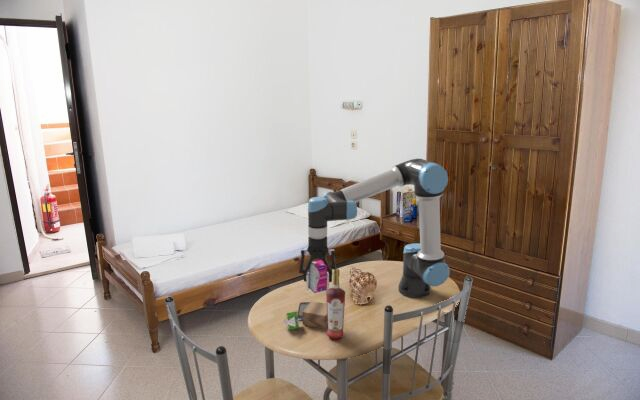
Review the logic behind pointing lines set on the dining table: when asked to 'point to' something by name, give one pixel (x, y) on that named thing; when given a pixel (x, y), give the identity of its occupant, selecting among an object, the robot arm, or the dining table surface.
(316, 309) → the walnut pedestal block
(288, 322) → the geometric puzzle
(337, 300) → the liquor
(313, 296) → the dining table surface
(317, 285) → the supplement box
